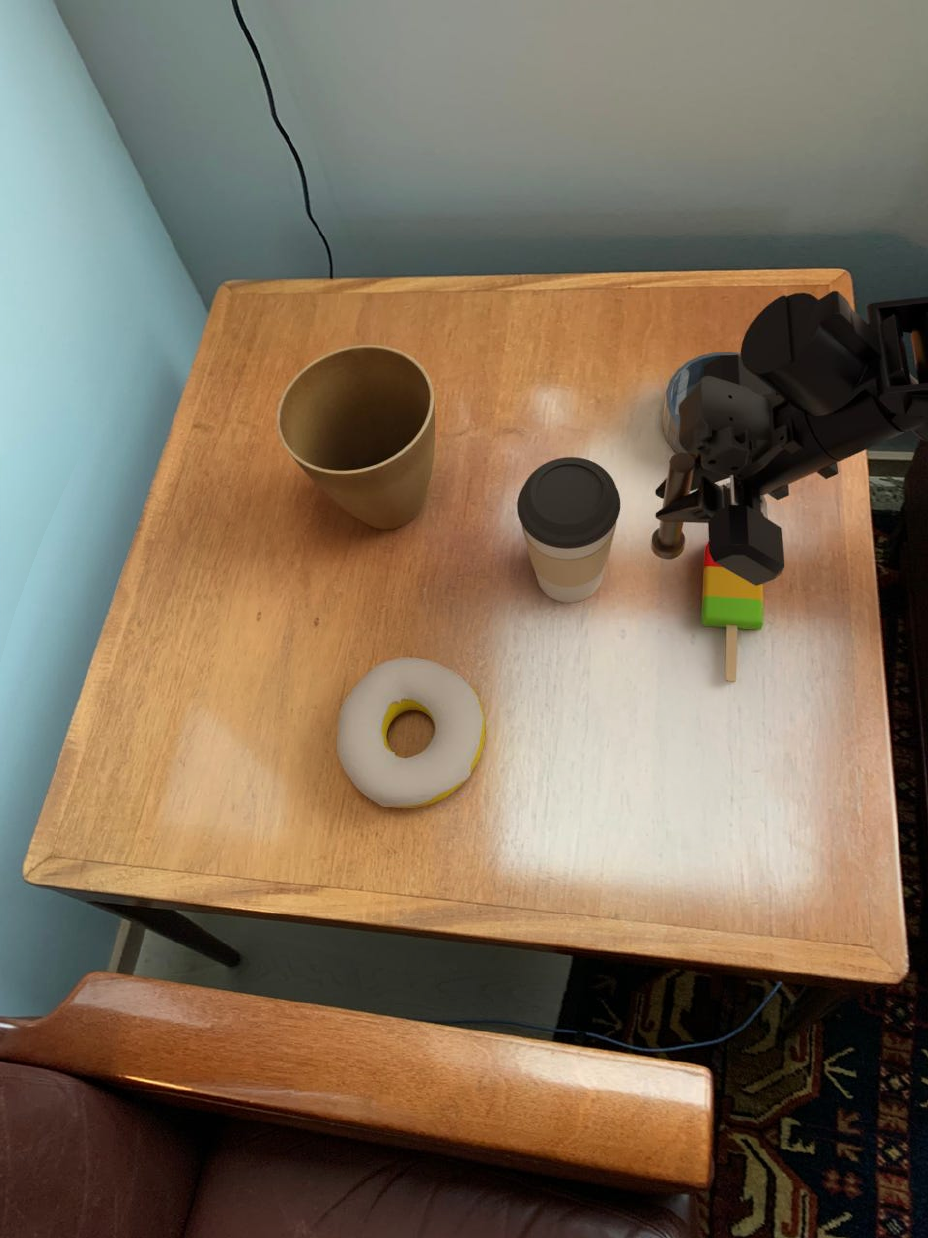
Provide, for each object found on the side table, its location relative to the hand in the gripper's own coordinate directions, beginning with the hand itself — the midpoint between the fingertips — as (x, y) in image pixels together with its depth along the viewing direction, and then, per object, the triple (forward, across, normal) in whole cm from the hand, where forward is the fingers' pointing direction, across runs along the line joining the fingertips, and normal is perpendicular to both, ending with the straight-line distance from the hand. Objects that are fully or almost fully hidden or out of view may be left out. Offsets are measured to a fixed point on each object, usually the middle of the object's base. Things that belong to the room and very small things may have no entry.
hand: (658, 506), depth 74 cm
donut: (+25, +18, -6) cm, 31 cm away
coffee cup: (+15, -1, +4) cm, 16 cm away
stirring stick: (+4, 0, +6) cm, 7 cm away
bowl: (+4, -19, +15) cm, 25 cm away
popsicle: (+4, +3, +15) cm, 16 cm away
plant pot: (+29, -9, -10) cm, 32 cm away
